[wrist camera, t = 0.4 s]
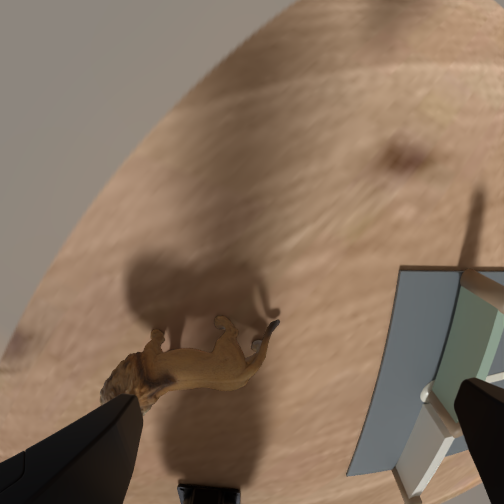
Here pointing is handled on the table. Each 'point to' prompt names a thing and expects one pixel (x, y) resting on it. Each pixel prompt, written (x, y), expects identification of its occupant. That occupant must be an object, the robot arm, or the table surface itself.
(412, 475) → the fixed fence
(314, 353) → the table surface
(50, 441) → the robot arm
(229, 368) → the lion figurine
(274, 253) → the table surface
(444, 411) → the fence panel
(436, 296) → the card
